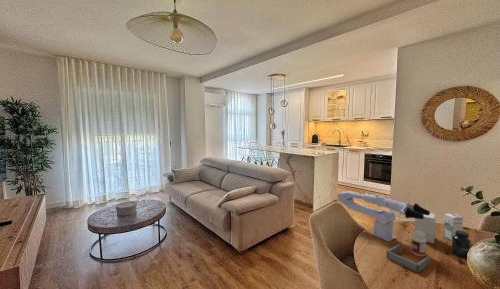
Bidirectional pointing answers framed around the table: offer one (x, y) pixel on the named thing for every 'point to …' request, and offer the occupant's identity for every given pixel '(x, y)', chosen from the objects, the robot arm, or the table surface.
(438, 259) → the table surface
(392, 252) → the box
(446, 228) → the syrup box
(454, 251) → the supplement bottle
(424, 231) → the supplement box
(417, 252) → the pill bottle
